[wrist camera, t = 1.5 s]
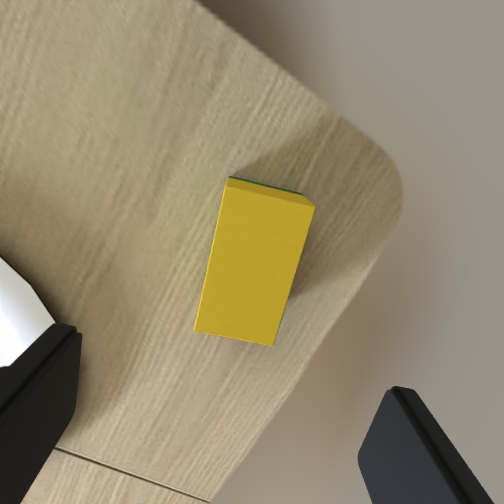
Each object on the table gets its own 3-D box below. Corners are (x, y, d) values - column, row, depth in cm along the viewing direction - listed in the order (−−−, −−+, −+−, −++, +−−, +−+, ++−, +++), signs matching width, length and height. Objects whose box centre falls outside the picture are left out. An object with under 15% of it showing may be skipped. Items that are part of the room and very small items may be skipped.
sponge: (228, 175, 22) (225, 184, 17) (302, 193, 22) (316, 207, 18) (202, 297, 24) (193, 331, 20) (268, 310, 25) (273, 347, 21)
